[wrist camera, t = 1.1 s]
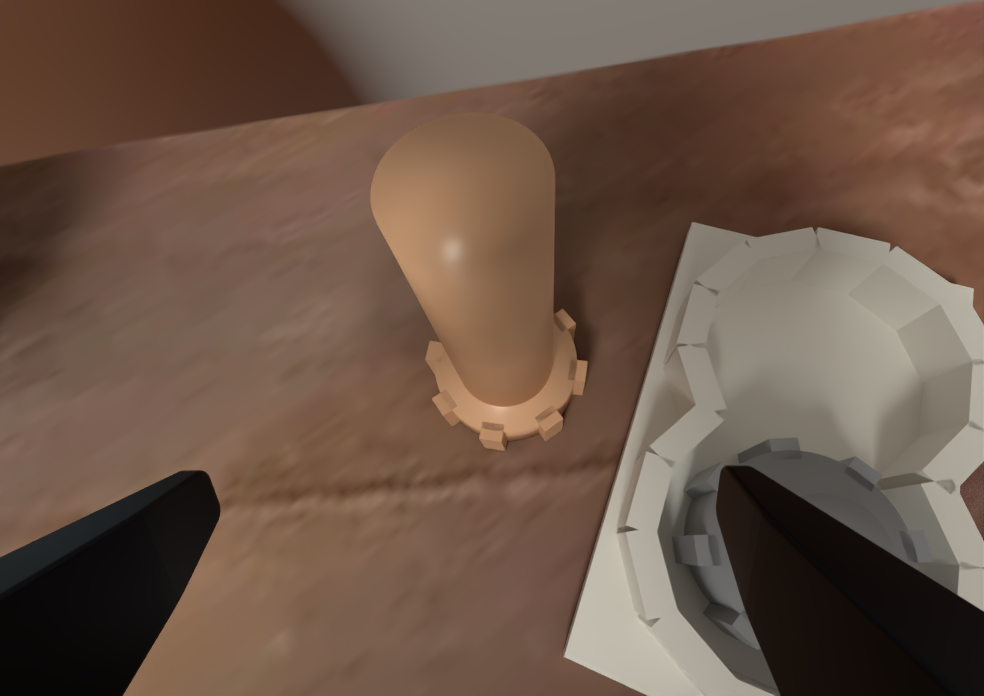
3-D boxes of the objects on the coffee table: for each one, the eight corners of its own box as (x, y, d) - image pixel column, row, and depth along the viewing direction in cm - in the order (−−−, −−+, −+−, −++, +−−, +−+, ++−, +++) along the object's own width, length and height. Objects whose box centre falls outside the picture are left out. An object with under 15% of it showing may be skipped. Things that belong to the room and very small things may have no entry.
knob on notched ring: (615, 390, 22) (695, 199, 10) (489, 482, 21) (407, 396, 9) (524, 284, 24) (500, 27, 12) (408, 361, 23) (259, 167, 11)
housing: (913, 812, 16) (1088, 940, 11) (563, 651, 18) (568, 691, 13) (955, 299, 22) (1080, 224, 17) (686, 234, 24) (723, 151, 19)
